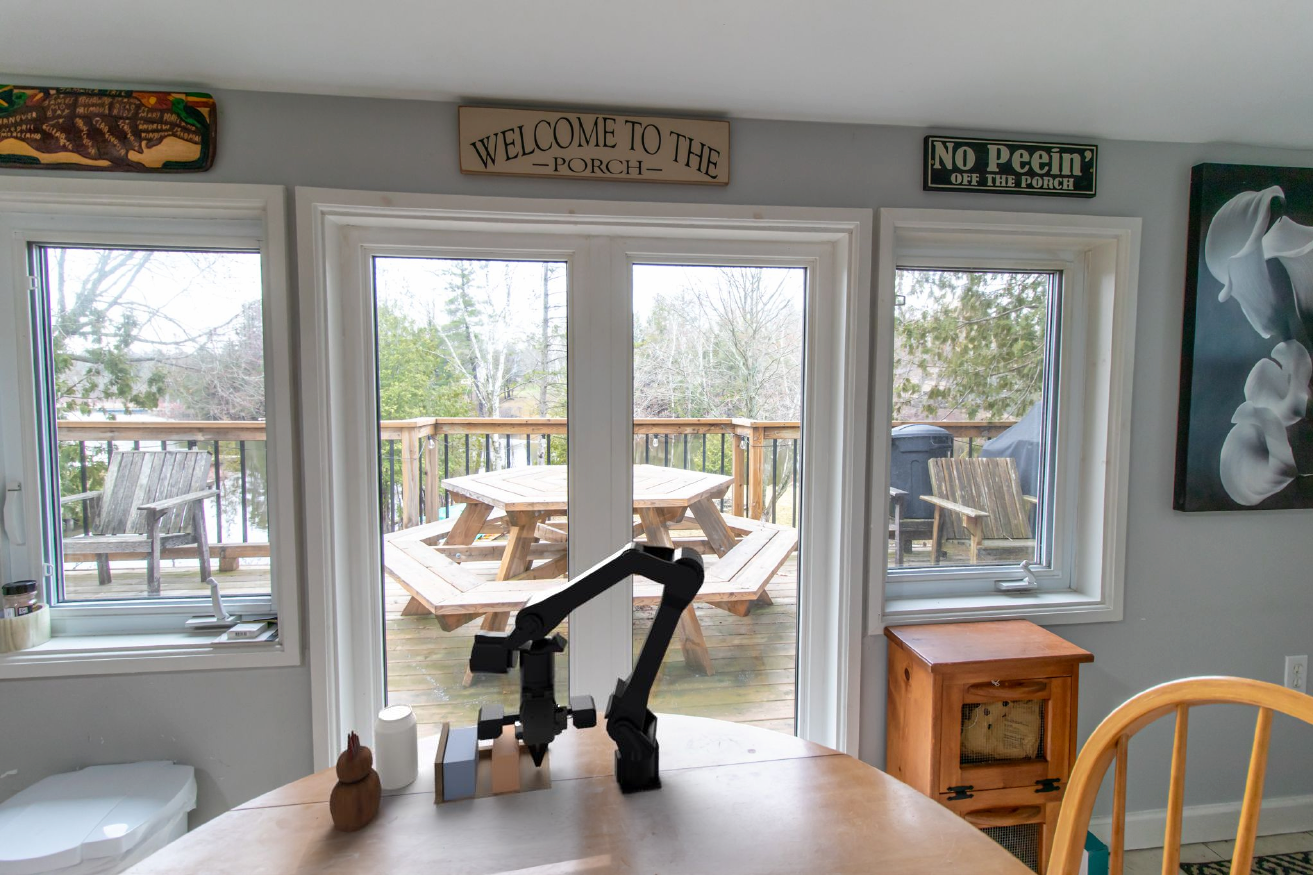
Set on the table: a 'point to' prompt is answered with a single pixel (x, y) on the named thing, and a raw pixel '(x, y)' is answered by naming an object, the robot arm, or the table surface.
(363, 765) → the wooden figurine
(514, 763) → the light orange box
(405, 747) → the beverage can
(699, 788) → the table surface
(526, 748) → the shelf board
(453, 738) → the pale blue box
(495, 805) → the table surface
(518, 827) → the table surface
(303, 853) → the table surface
